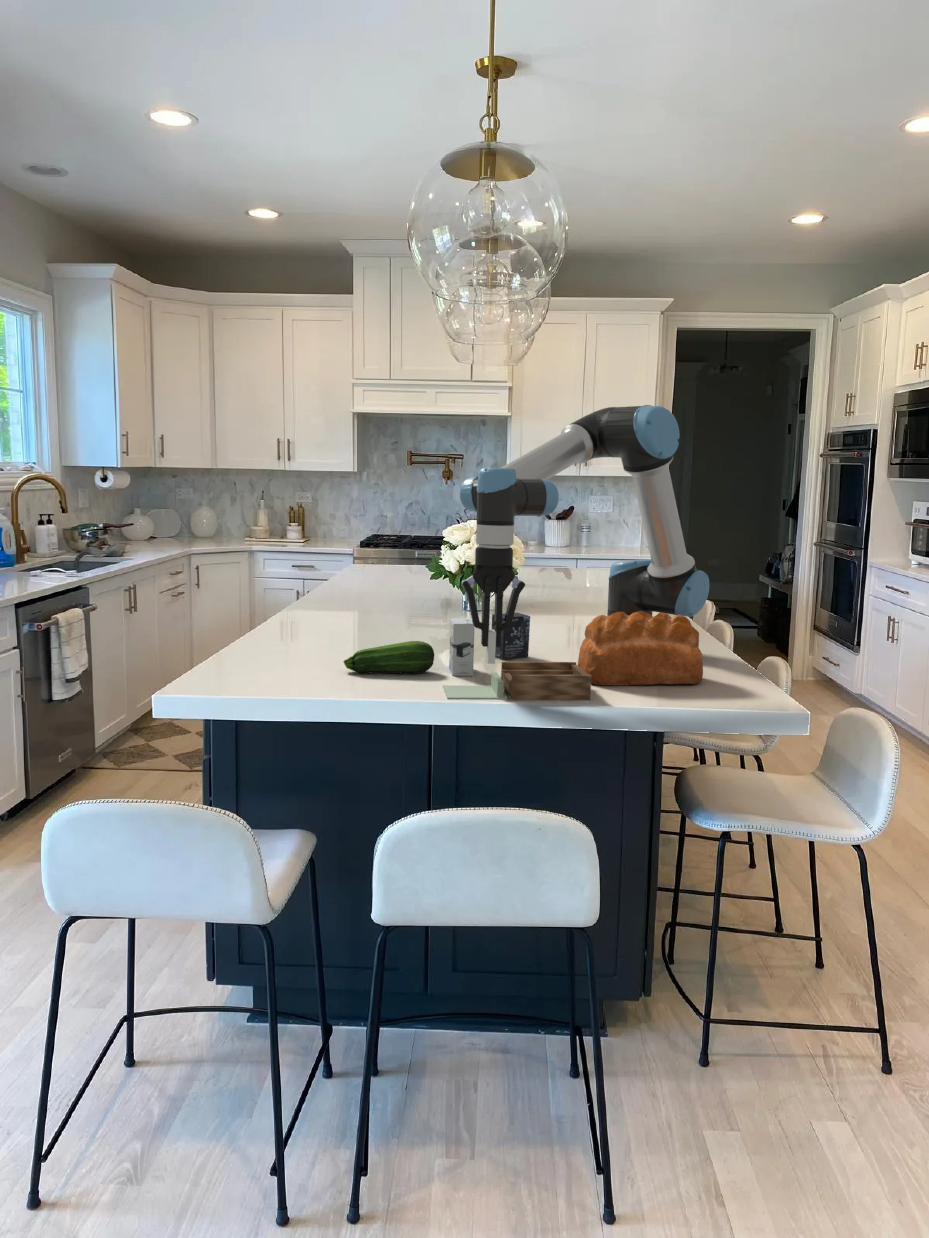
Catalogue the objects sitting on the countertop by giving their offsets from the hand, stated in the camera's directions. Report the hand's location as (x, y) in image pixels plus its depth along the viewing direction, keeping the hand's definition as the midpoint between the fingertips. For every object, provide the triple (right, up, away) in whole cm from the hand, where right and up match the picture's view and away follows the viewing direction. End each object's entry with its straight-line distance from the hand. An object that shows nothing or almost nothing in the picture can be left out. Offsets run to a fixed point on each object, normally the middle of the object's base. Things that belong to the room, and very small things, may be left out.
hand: (490, 662), depth 183 cm
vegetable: (-22, -3, +17) cm, 28 cm away
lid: (-3, -7, 0) cm, 7 cm away
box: (+6, -1, +38) cm, 38 cm away
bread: (+33, -5, +17) cm, 38 cm away
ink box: (-6, -3, +19) cm, 20 cm away
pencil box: (+11, -6, +3) cm, 13 cm away
